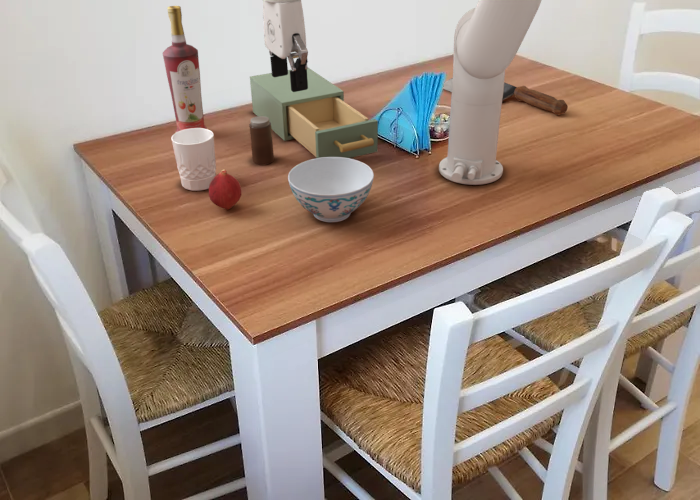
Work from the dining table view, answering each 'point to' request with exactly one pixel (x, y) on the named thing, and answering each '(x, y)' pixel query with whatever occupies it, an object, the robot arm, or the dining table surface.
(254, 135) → the pepper mill
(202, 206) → the dining table surface
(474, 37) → the robot arm
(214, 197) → the onion
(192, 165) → the white cup
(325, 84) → the cabinet
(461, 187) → the dining table surface
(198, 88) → the liquor
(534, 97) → the meat cleaver
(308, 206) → the chinaware
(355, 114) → the drawer
